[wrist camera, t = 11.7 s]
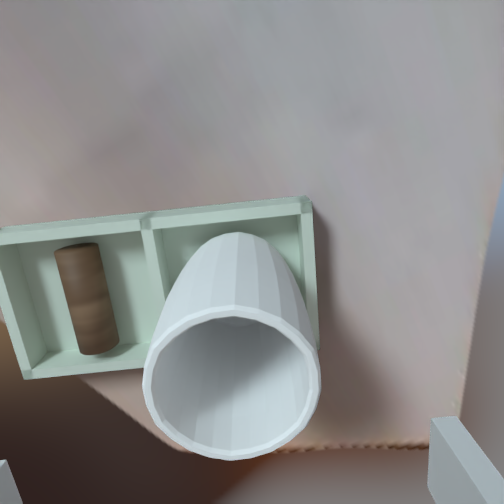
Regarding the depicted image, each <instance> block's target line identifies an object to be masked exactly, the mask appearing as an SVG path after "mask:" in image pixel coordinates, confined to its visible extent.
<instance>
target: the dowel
mask: <svg viewBox="0 0 504 504" xmlns="http://www.w3.org/2000/svg"><path fill="white" fill-rule="evenodd" d="M54 256H55V260H56V263H57V267H58V271H59V275H60V279H61V283H62V286H63V290H64V294H65V298H66V302H67V305H68V309H69V313H70V317H71V321H72V324H73V328H74V332H75V336H76V340H77V344H78V347H79V351H80V353H81V354H83V355H97V354H101V353H104V352H107V351H109V350H111V349H112V348H114V347H115V346H116V345H117V344H118V343H119V341H120V339H119V335H118V330H117V326H116V321H115V317H114V313H113V308H112V304H111V299H110V295H109V290H108V286H107V281H106V277H105V273H104V268H103V264H102V259H101V255H100V250H99V246H98V243H94V242H89V243H79V244H74V245H69V246H66V247H62V248H60V249H57V250H56V251H54Z"/></svg>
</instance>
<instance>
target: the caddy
mask: <svg viewBox="0 0 504 504" xmlns="http://www.w3.org/2000/svg"><path fill="white" fill-rule="evenodd" d="M232 232H243V233H248V234H253V235H255V236H257V237H260V238H262V239H264V240H266V241H267V242H268V243H269V244H271V245H272V246H273V247H274V248H276V250H277V251H278V252H279V254H280V255H281V256H282V257H283V259H284V260H285V262H286V263H287V265H288V267H289V269H290V270H291V272H292V274H293V276H294V278H295V281H296V283H297V285H298V287H299V290H300V293H301V295H302V298H303V300H304V303H305V307H306V310H307V313H308V316H309V320H310V323H311V327H312V331H313V334H314V338H315V342H316V348H317V350H320V340H319V322H318V304H317V286H316V268H315V250H314V232H313V214H312V201H311V200H310V199H308V198H307V197H306V196H295V197H286V198H276V199H267V200H257V201H247V202H238V203H228V204H218V205H209V206H199V207H190V208H180V209H170V210H161V211H151V212H142V213H132V214H122V215H113V216H103V217H94V218H84V219H74V220H65V221H55V222H46V223H36V224H26V225H17V226H7V227H3V228H0V306H1V309H2V312H3V315H4V319H5V322H6V325H7V328H8V331H9V334H10V337H11V341H12V343H13V347H14V350H15V353H16V356H17V359H18V362H19V366H20V369H21V372H22V375H23V378H24V379H25V380H26V379H36V378H46V377H55V376H65V375H75V374H85V373H95V372H105V371H115V370H125V369H135V368H144V364H145V361H146V357H147V354H148V350H149V347H150V343H151V340H152V336H153V334H154V331H155V328H156V326H157V323H158V320H159V318H160V315H161V312H162V310H163V307H164V305H165V302H166V299H167V297H168V295H169V293H170V291H171V289H172V287H173V285H174V283H175V281H176V280H177V278H178V276H179V274H180V273H181V271H182V270H183V268H184V267H185V265H186V264H187V262H188V261H189V260H190V258H191V257H192V256H193V255H194V254H195V252H196V251H197V250H198V249H199V248H200V247H201V246H202V245H203V244H205V243H206V242H208V241H209V240H210V239H212V238H214V237H217V236H220V235H222V234H225V233H232ZM89 242H94V243H98V246H99V250H100V255H101V259H102V264H103V268H104V273H105V277H106V281H107V286H108V290H109V295H110V299H111V304H112V308H113V313H114V317H115V321H116V326H117V330H118V335H119V339H120V341H119V343H118V344H117V345H116V346H115V347H114V348H112V349H111V350H109V351H107V352H104V353H101V354H97V355H83V354H81V353H80V351H79V347H78V344H77V340H76V336H75V332H74V328H73V324H72V321H71V317H70V313H69V309H68V305H67V302H66V298H65V294H64V290H63V286H62V283H61V279H60V275H59V271H58V267H57V263H56V260H55V256H54V251H56V250H57V249H60V248H62V247H66V246H69V245H74V244H79V243H89Z"/></svg>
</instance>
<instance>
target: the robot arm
mask: <svg viewBox="0 0 504 504" xmlns="http://www.w3.org/2000/svg"><path fill="white" fill-rule="evenodd" d="M427 487H428V489H429V491H430V493H431V495H432V497H433V499H434V501H435V503H436V504H504V478H503V477H502V476H501V474H500V473H499V472H498V471H497V469H496V468H495V467H494V465H493V464H492V463H491V461H490V460H489V459H488V457H487V456H486V455H485V453H484V452H483V451H482V450H481V448H480V447H479V446H478V445H477V443H476V442H475V440H474V439H473V438H472V436H471V435H470V434H469V432H468V431H467V430H466V428H464V426H463V425H462V423H461V422H460V421H459V419H458V418H457V417H456V416H450V417H440V418H431V427H430V446H429V466H428V484H427ZM0 504H23V503H22V500H21V498H20V495H19V492H18V490H17V487H16V485H15V482H14V479H13V477H12V474H11V471H10V469H9V466H8V463H7V461H6V460H0Z"/></svg>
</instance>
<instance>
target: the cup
mask: <svg viewBox="0 0 504 504" xmlns="http://www.w3.org/2000/svg"><path fill="white" fill-rule="evenodd" d="M142 388H143V393H144V397H145V402H146V406H147V408H148V410H149V412H150V414H151V416H152V418H153V420H154V423H155V424H156V425H157V426H158V427H159V428H160V429H161V430H162V431H163V432H164V433H165V434H166V435H167V436H168V437H169V438H170V439H172V440H174V441H175V442H177V443H178V444H180V445H181V446H183V447H185V448H186V449H188V450H189V451H192V452H195V453H198V454H201V455H204V456H207V457H210V458H217V459H224V460H239V459H247V458H253V457H256V456H259V455H262V454H266V453H269V452H272V451H274V450H275V449H277V448H279V447H280V446H282V445H284V444H286V443H287V442H289V441H291V440H292V439H293V438H294V437H295V436H296V435H298V434H299V433H300V432H301V431H302V430H303V429H304V428H305V427H306V426H307V425H308V423H309V421H310V419H311V418H312V416H313V414H314V412H315V410H316V408H317V404H318V400H319V397H320V393H321V372H320V364H319V359H318V353H317V348H316V342H315V338H314V334H313V331H312V327H311V323H310V320H309V316H308V313H307V310H306V307H305V303H304V300H303V298H302V295H301V293H300V290H299V287H298V285H297V283H296V281H295V278H294V276H293V274H292V272H291V270H290V269H289V267H288V265H287V263H286V262H285V260H284V259H283V257H282V256H281V255H280V254H279V252H278V251H277V250H276V248H274V247H273V246H272V245H271V244H269V243H268V242H267V241H266V240H264V239H262V238H260V237H257V236H255V235H253V234H248V233H243V232H232V233H225V234H222V235H220V236H217V237H214V238H212V239H210V240H209V241H208V242H206V243H205V244H203V245H202V246H201V247H200V248H199V249H198V250H197V251H196V252H195V254H194V255H193V256H192V257H191V258H190V260H189V261H188V262H187V264H186V265H185V267H184V268H183V270H182V271H181V273H180V274H179V276H178V278H177V280H176V281H175V283H174V285H173V287H172V289H171V291H170V293H169V295H168V297H167V299H166V302H165V305H164V307H163V310H162V312H161V315H160V318H159V320H158V323H157V326H156V328H155V331H154V334H153V336H152V340H151V343H150V347H149V350H148V354H147V357H146V361H145V364H144V372H143V382H142Z"/></svg>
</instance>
